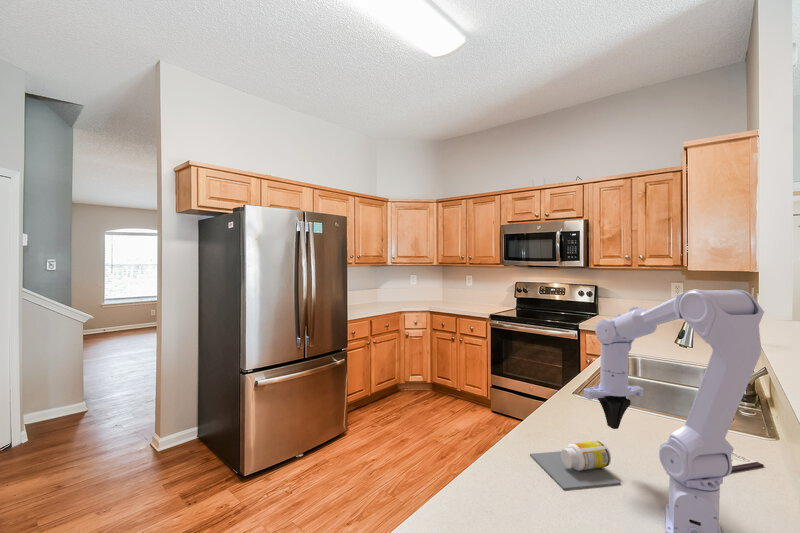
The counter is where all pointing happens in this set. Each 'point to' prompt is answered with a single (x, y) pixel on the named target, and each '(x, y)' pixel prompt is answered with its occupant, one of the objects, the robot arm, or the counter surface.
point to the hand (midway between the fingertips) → (612, 427)
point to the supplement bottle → (586, 455)
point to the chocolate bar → (743, 463)
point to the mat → (572, 473)
